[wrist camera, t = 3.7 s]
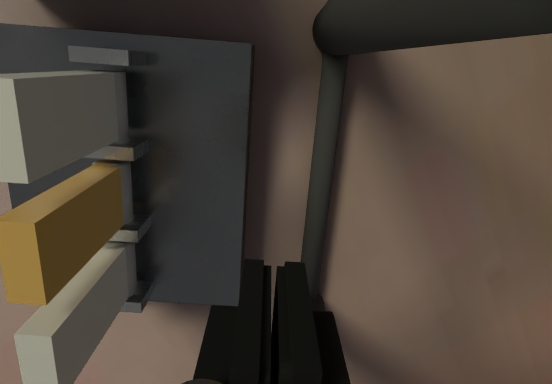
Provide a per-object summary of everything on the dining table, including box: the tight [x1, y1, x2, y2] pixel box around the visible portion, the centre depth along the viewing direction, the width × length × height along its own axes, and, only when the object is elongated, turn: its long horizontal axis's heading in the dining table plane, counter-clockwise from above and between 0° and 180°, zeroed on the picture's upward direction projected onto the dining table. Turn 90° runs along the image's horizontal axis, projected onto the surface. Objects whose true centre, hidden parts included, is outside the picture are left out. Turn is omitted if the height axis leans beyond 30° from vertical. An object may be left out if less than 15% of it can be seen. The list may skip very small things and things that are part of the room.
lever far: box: [14, 241, 137, 384], centre depth 16 cm, size 2×3×8 cm, turn 176°
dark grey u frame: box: [301, 0, 552, 311], centre depth 14 cm, size 2×18×16 cm, turn 176°
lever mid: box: [0, 159, 133, 305], centre depth 15 cm, size 2×3×8 cm, turn 175°
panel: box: [0, 23, 255, 313], centre depth 19 cm, size 12×14×4 cm
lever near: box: [0, 70, 129, 184], centre depth 14 cm, size 2×3×8 cm, turn 176°
